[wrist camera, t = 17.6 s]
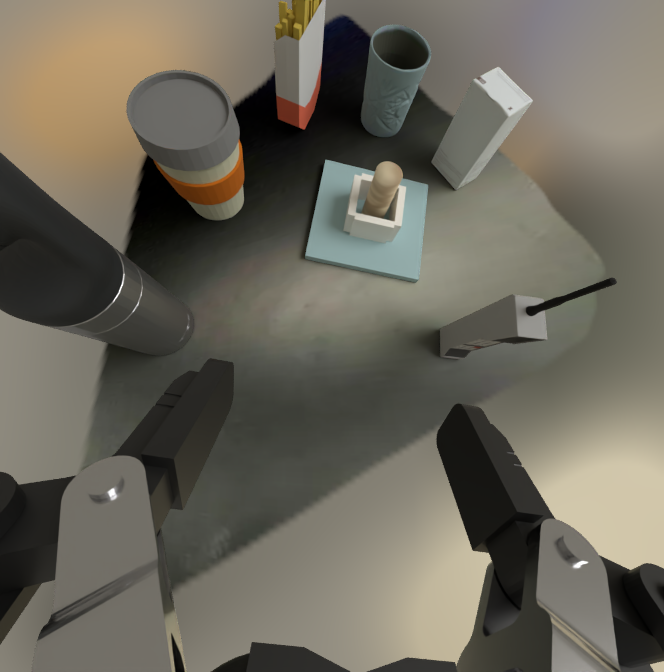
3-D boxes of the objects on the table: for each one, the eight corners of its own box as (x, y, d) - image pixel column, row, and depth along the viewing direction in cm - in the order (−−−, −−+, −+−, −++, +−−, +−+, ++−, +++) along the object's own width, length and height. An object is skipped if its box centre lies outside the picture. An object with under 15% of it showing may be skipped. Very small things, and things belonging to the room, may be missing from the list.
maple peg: (358, 225, 48) (374, 181, 38) (361, 206, 49) (377, 158, 39) (380, 230, 48) (401, 187, 38) (383, 211, 49) (403, 165, 39)
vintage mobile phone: (439, 357, 45) (600, 313, 21) (439, 328, 46) (591, 255, 22) (460, 359, 46) (642, 318, 21) (459, 331, 47) (631, 262, 23)
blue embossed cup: (400, 145, 54) (428, 77, 43) (352, 133, 53) (367, 60, 42) (406, 107, 57) (433, 33, 45) (359, 95, 56) (375, 16, 44)
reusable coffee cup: (269, 200, 48) (256, 115, 33) (214, 243, 45) (173, 170, 30) (220, 155, 49) (186, 53, 34) (163, 194, 46) (99, 101, 31)
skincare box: (474, 179, 55) (537, 102, 40) (453, 192, 53) (511, 116, 39) (448, 149, 55) (501, 62, 41) (427, 161, 54) (474, 75, 40)
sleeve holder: (305, 258, 46) (305, 240, 41) (324, 165, 51) (328, 136, 45) (415, 282, 48) (431, 267, 42) (425, 189, 52) (440, 165, 47)
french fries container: (277, 131, 51) (265, -6, 34) (297, 91, 54) (297, -53, 37) (299, 140, 52) (299, 9, 34) (319, 100, 54) (328, -40, 37)
